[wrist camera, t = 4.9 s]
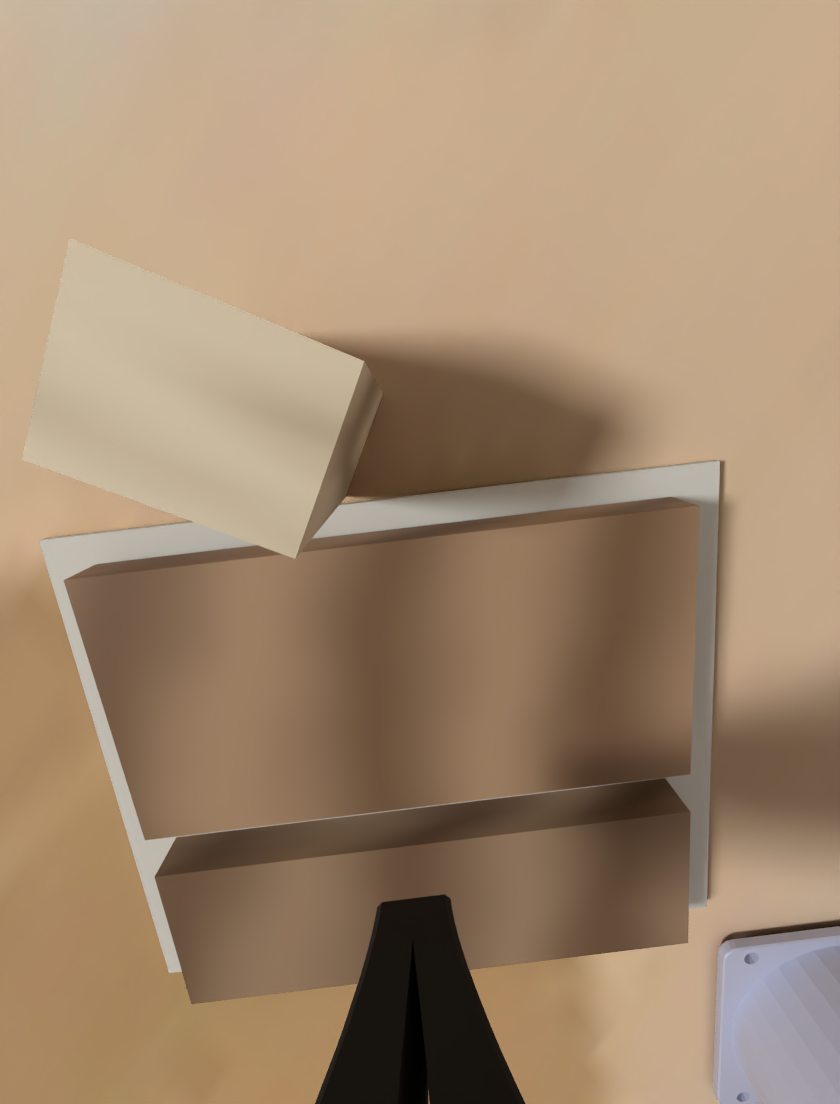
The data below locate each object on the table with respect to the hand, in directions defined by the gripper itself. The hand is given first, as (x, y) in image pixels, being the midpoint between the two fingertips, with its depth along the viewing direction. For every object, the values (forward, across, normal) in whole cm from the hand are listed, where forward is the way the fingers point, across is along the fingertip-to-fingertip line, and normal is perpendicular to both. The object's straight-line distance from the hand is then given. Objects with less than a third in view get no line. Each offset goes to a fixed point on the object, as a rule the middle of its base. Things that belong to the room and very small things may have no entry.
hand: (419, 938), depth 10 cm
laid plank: (+6, 0, +5) cm, 8 cm away
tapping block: (+3, +3, -9) cm, 10 cm away
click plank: (+6, 0, -3) cm, 7 cm away
